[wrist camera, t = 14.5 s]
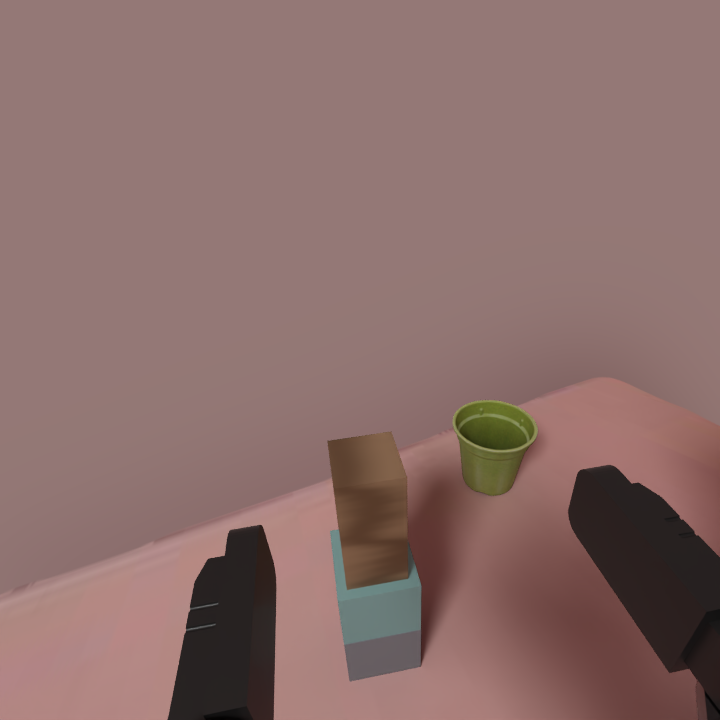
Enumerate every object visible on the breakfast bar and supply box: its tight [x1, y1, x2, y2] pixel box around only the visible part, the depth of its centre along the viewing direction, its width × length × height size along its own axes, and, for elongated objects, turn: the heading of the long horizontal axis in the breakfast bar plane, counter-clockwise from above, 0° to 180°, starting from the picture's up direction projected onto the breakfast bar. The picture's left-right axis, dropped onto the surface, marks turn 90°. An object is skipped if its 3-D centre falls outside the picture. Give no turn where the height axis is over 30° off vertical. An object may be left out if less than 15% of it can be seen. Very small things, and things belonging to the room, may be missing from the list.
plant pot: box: [453, 400, 538, 496], centre depth 52 cm, size 9×9×9 cm
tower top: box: [330, 530, 421, 644], centre depth 34 cm, size 6×6×6 cm
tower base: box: [344, 630, 421, 681], centre depth 37 cm, size 6×6×6 cm
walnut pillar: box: [328, 432, 408, 590], centre depth 30 cm, size 4×4×10 cm
